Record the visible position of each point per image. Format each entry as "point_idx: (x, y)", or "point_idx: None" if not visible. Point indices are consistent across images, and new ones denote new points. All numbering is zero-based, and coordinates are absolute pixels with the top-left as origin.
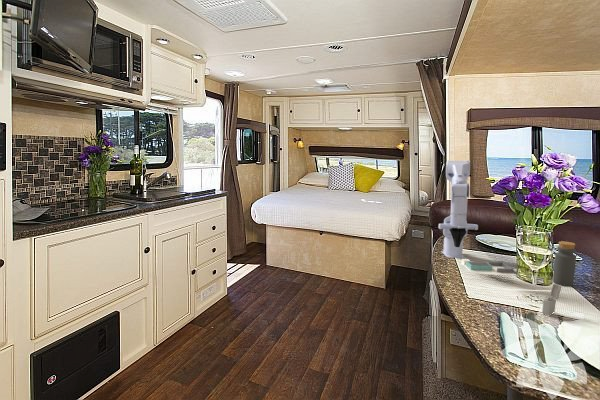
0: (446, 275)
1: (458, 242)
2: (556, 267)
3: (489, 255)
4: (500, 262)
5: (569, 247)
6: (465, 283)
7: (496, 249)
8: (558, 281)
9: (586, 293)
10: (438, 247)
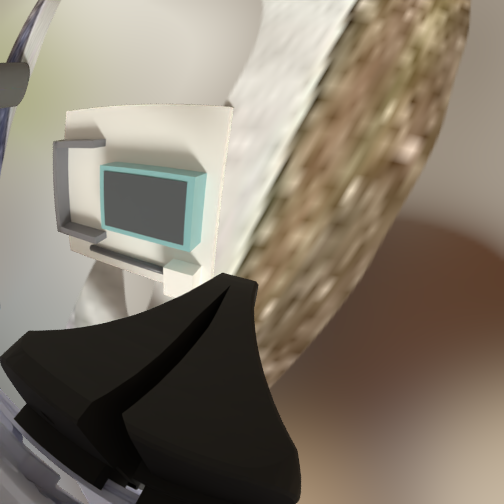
0: (392, 125)
1: (215, 303)
2: None
3: None
4: (63, 227)
5: None
6: (340, 7)
7: None
8: (22, 69)
9: (26, 29)
10: None
